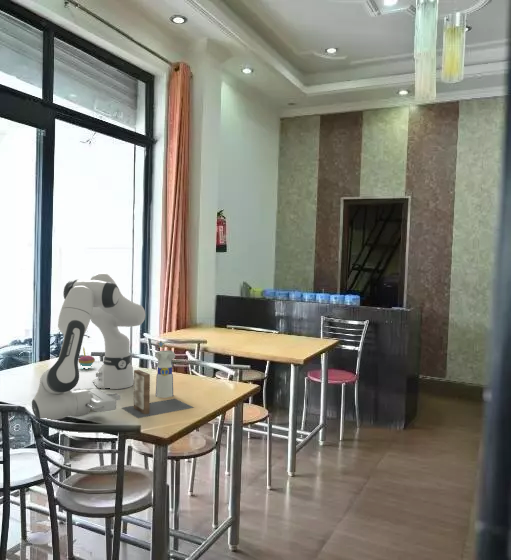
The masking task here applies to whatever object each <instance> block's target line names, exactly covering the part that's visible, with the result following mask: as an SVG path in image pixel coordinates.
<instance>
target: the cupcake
mask: <svg viewBox="0 0 511 560" xmlns="http://www.w3.org/2000/svg"><path fill="white" fill-rule="evenodd" d="M82 350H83V356H82V355H81V356H79V359H78V364H79V365H80V366H81V365H82V366H91V365H92V366H93V364H94V363H95V361H96V359H95V358H94V356H91V355H86V349H85V347H84V346H83V347H82ZM92 366H91V367H92Z"/></svg>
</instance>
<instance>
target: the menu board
mask: <svg viewBox="0 0 511 560" xmlns="http://www.w3.org/2000/svg"><path fill="white" fill-rule="evenodd" d="M133 377H134V384H133V406H134V409H136V410H138V411H140V412H141V413H143V414H149V410H150V403H151V402H150V401H151V399H150V397H151V396H150V395H151V394H150V393H151V392H150V391H151V390H150V388H151V387H150V386H151V385H150V384H151V383H150V382H151V380H150V379H151V374H150V373H149V372H148V373H147V372H145V371H143V370H140V369H135V370H134V369H133Z"/></svg>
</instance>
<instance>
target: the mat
mask: <svg viewBox="0 0 511 560" xmlns="http://www.w3.org/2000/svg"><path fill="white" fill-rule="evenodd" d="M193 408H195V407H194V406H193V405H190V404H188V403H185V402H184V401H181V400H180V399H179V400H178V399H177V398H170V399H164V400H159V401H153V402H150V410H149V414H143V413H141V412H140V411H138V410H136V409H134V405H130V406H125V407H123V406H122V407H121V410H124V411H125V412H127V413H128V414H130V415H132V416H134V417H135V418H137V419H143V418H147V417H151V416H157V415H158V416H159V415H163V414H169V413H172V412H173V413H174V412H178V411H184V410H188V409H193Z"/></svg>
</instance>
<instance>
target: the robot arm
mask: <svg viewBox="0 0 511 560" xmlns="http://www.w3.org/2000/svg"><path fill="white" fill-rule="evenodd" d="M62 296H63V299H64V301H63V303H62V306H61V309H60V312H59V316H58V320H57V321H58V323H57V328H58V330H59V331H60V333H61V334H63V341H62V344H61V348H60V352H59V356H58V359H57V361H56V362H55V363H54V364H53V365H52V366H51V367H50V368H49V369H47V370H46V371H45V372H44V373H42V375H41V377H40V379H39V385H38V389H37V392H36V394H35V395H34V398H33V399H32V401H31V409H32V412H33V415H34V416H35V418H36V419H37V418H39V419H40V418H47V419H51V420H50V421H55V420H62V419H64V418H66V417H79V416H84V415H85V416H86V415H88V414H89V413H90V411H93V412H97V413H101V412H102V413H103V412H110V411H114V410H116V409H117V401H119V400H120V399H121V395H120V394H118V393H106V392H104V391H102V390H101V389H105V388H110V389H109V390H119V389H120V390H121V389H126V388H131V387H132V386H134V368H133V365H131V359H132V358H131V355H130V345H131V342H130V338H129V337H128V336H127V335H125V334H123V333H121V332H120V330H119V328H121V327H123V328H124V327H125V328H127V327H128V328H129V327H130V328H132V327H137V326H141V325H142V324H143V323H144V321H145V319H146V310H145V308H144V307H143V305H142V304H138V303H135V302H133V301H131V300H130V299H128V298H127V297H125V296H124V295H123V294H122V292H121V290H120V289H119V287H118V285H117V283H116V281H114V279H113V277H111V276H110V275H109V274H108V273H105V272H99V273H96V274H95V273H94V275H93V276H91V278H90V279H71V280H69V281H67V283H66V284H65V285H64V288H63V295H62ZM90 322H91V323H92V324H93V325H95V327H97V328H98V329H99V331H100V332H101V334H102V337H103V339H104V341H103V342H104V353H105V354H104V357H103V361H102V362H103V364H102V365H101V366H100V367H99V369H98V370H97V371H96V372H95V377H96V378H95V379H94V378H93V380H92V382H93V381H94V383H95V384H96V386H97V387H98V388H97V387H96V386H95V387H96V388H95V387H92V388H91V387H90V388H75V387H76V386H77V385H78V382H79V380H80V371H79V370H80V369H79V358H80V353H81V350H82V345H83V340H84V337H85V334H86V331H87V329H88V327H89V323H90ZM118 327H119V328H118ZM94 383H93V384H94ZM95 384H94V385H95ZM100 388H101V389H100ZM39 419H38V420H39Z"/></svg>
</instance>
